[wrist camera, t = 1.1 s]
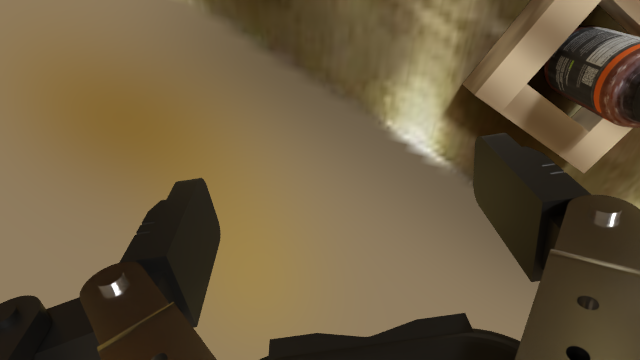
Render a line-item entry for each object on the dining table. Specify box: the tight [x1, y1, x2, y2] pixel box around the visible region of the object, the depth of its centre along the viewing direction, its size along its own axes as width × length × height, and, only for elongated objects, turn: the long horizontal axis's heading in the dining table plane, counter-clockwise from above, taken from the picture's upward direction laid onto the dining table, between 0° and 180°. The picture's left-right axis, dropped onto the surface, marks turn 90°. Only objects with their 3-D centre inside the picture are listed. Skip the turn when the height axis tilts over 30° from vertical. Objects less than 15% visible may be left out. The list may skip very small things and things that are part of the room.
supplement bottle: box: [544, 26, 640, 128], centre depth 31 cm, size 6×6×11 cm
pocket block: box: [463, 0, 640, 173], centre depth 35 cm, size 14×14×3 cm
